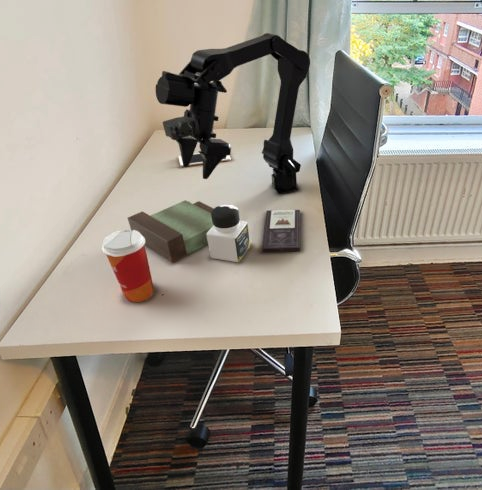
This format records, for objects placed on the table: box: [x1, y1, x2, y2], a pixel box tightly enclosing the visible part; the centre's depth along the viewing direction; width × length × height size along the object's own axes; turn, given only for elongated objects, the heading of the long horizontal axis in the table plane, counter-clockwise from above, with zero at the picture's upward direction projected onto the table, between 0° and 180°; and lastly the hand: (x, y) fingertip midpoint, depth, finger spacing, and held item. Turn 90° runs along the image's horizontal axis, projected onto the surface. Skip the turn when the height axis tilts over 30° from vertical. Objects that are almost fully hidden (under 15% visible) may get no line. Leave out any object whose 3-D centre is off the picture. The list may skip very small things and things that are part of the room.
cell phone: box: [177, 152, 231, 168], centre depth 148 cm, size 8×16×1 cm, turn 113°
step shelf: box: [127, 199, 215, 264], centre depth 110 cm, size 20×16×6 cm
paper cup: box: [101, 229, 155, 303], centre depth 89 cm, size 8×8×14 cm
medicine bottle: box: [206, 204, 251, 263], centre depth 102 cm, size 7×7×12 cm
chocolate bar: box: [261, 209, 301, 253], centre depth 114 cm, size 9×1×18 cm
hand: (195, 172), depth 109 cm, fingers open, 9 cm apart
